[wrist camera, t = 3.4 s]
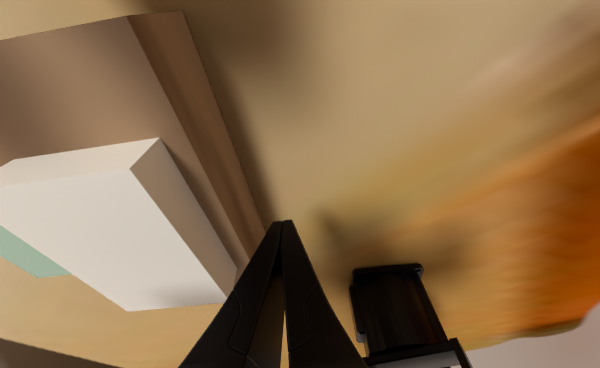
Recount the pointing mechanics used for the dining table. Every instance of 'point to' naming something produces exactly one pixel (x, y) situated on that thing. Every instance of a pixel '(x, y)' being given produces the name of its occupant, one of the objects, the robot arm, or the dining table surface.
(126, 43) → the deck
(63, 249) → the white block
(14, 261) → the mat
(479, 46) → the dining table surface
